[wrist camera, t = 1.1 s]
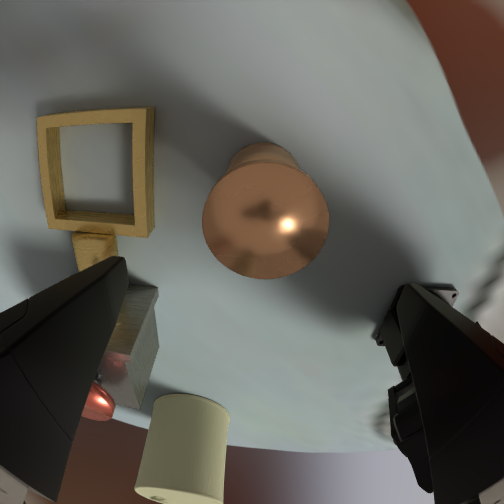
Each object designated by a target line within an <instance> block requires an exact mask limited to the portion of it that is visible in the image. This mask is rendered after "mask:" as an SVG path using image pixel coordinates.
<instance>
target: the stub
mask: <svg viewBox="0 0 504 504" xmlns="http://www.w3.org/2000/svg"><path fill="white" fill-rule="evenodd" d="M202 228H203V233H204V237H205V240H206V243H207V245H208V247H209V249H210V250H211V252H212V253H213V255H214V256H215V257H216V258H217V259H218V260H219V261H220V262H221V263H222V264H223V265H224V266H226V267H227V268H229V269H230V270H232V271H234V272H236V273H238V274H241V275H243V276H247V277H251V278H257V279H274V278H280V277H284V276H287V275H290V274H292V273H295V272H297V271H298V270H300V269H302V268H303V267H305V266H306V265H307V264H309V263H310V262H311V261H312V260H313V259H314V258H315V257H316V255H317V254H318V253H319V252H320V250H321V248H322V247H323V245H324V243H325V240H326V237H327V234H328V229H329V213H328V208H327V204H326V202H325V199H324V197H323V195H322V193H321V192H320V190H319V188H318V187H317V185H316V183H315V182H314V181H313V180H312V179H311V178H310V177H309V176H308V175H307V174H306V173H305V172H303V171H302V170H300V169H299V167H298V165H297V163H296V161H295V159H294V158H293V156H292V155H291V154H290V153H289V152H288V151H287V150H285V149H284V148H282V147H280V146H278V145H275V144H272V143H264V142H262V143H255V144H251V145H248V146H246V147H244V148H243V149H241V150H240V151H239V152H238V153H236V155H235V156H234V157H233V158H232V160H231V162H230V164H229V166H228V169H227V171H226V173H225V174H224V175H223V176H222V177H221V178H220V179H219V180H218V181H217V183H216V184H215V185H214V187H213V188H212V190H211V192H210V194H209V196H208V199H207V201H206V203H205V206H204V210H203V217H202Z"/></svg>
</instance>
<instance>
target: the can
mask: <svg viewBox="0 0 504 504" xmlns="http://www.w3.org/2000/svg"><path fill="white" fill-rule="evenodd" d="M229 422H230V416H229V413H228V412H227V410H226V409H225V408H223V407H222V406H221V405H219V404H218V403H216V402H214V401H212V400H209V399H207V398H203V397H200V396H196V395H190V394H168V395H164V396H161V397H159V398H158V399H157V400H156V401H155V402H154V404H153V413H152V418H151V422H150V427H149V431H148V436H147V440H146V444H145V448H144V453H143V457H142V461H141V465H140V469H139V473H138V478H137V482H136V486H135V487H134V489H135V491H136V492H137V493H138V494H140V495H142V496H144V497H146V498H148V499H151V500H154V501H157V502H160V503H163V504H223V487H224V471H225V456H226V443H227V432H228V424H229Z"/></svg>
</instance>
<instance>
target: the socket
mask: <svg viewBox="0 0 504 504" xmlns="http://www.w3.org/2000/svg"><path fill="white" fill-rule="evenodd" d="M154 119H155V107H127V108H107V109H93V110H81V111H71V112H62V113H54V114H48V115H44V116H40V117H37V135H38V152H39V164H40V174H41V183H42V191H43V198H44V205H45V211H46V217H47V222H48V228H49V229H59V230H70V231H81V232H91V233H102V234H112V235H123V236H133V237H144V238H148V236H149V235H150V233H151V232H152V230H153V229H154V227H155V226H154V190H153V154H154ZM102 123H133V133H132V164H133V197H134V215H130V214H116V213H102V212H87V211H71V210H66V207H65V200H64V191H63V182H62V172H61V159H60V142H59V127H60V126H71V125H85V124H102Z"/></svg>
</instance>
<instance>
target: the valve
mask: <svg viewBox="0 0 504 504" xmlns="http://www.w3.org/2000/svg"><path fill="white" fill-rule="evenodd" d="M72 243H73V248H74V253H75V258H76V263H77V268H78V272H80V271H82V270H84V269H86V268H88V267H90V266H92V265H94V264H96V263H98V262H100V261H102V260H104V259H107V258H109V257H111V256H118V248H117V240H116V235H112V234H102V233H91V232H81V231H75V232H74V233H73V234H72ZM71 276H72V275H71ZM158 296H159V295H158V288H156V287H148V286H140V285H133V284H128V287H127V290H126V293H125V297H124V300H123V303H122V306H121V310H120V313H119V316H118V320H117V323H116V326H115V328H114V331H113V333H112V335H111V338H110V340H109V343H108V345H107V348H106V350H105V353H104V355H103V358H102V360H101V363H100V365H99V368H98V370H97V373H96V376H95V378H94V381H93V384H92V386H91V389H90V392H89V395H88V398H87V400H86V403H85V406H84V409H83V412H82V415H81V416H84V417H86V418H89V419H93V420H99V421H106V420H109V419H111V418H112V416H113V413H114V410H115V406H116V405H115V404H118V405H122V406H127V407H131V408H136V409H140V408H141V405H142V401H143V398H144V394H145V391H146V387H147V384H148V381H149V377H150V374H151V371H152V368H153V364H154V361H155V358H156V355H157V352H158V348H159V342H158V335H157V328H156V320H155V312H154V306H155V303H156V301H157V298H158Z"/></svg>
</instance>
